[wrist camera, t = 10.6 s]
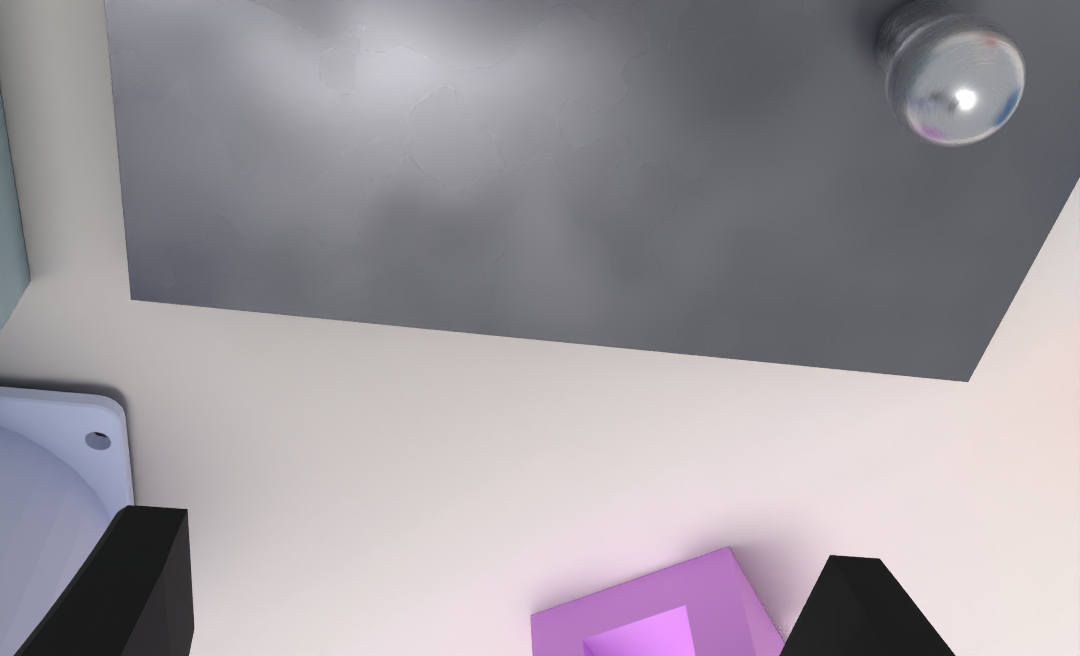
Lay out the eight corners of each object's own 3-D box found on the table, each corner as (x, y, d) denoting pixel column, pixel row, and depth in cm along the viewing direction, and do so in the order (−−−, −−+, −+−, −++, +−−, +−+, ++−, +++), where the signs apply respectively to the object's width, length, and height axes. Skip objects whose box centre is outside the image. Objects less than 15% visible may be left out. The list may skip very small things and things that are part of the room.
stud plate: (954, 358, 22) (1019, 470, 20) (141, 275, 20) (90, 390, 17) (1366, -430, 14) (1577, -420, 11) (60, -732, 12) (-63, -813, 9)
